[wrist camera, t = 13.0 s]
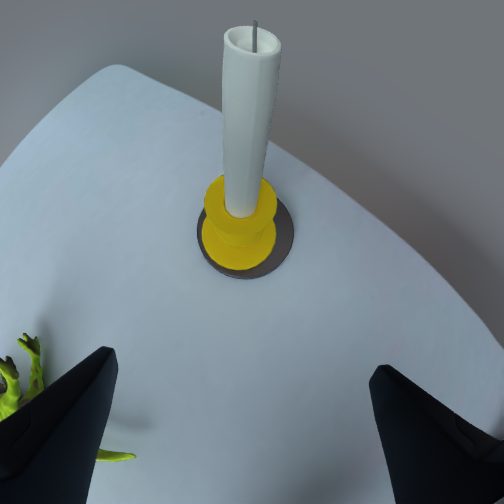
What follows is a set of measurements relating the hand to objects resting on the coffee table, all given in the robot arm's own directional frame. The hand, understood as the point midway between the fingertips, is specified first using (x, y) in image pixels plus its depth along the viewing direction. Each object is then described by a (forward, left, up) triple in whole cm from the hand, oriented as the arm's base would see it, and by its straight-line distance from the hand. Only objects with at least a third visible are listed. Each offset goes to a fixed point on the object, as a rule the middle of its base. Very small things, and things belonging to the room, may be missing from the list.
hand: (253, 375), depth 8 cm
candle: (+6, -6, -10) cm, 13 cm away
